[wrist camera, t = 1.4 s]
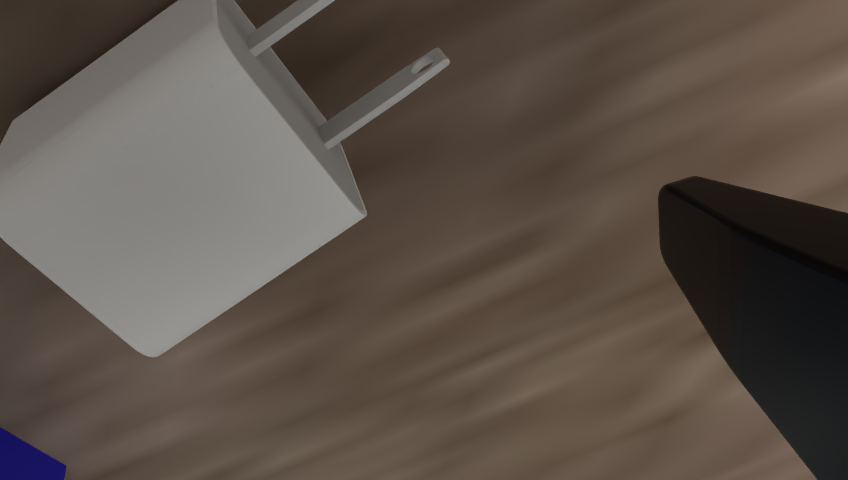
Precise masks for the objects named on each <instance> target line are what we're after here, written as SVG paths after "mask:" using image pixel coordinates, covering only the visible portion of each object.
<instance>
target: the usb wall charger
mask: <svg viewBox="0 0 848 480" xmlns="http://www.w3.org/2000/svg"><path fill="white" fill-rule="evenodd" d="M333 1H335V0H297V1H296V2H294V3H293V4H291V5H290V6H289V7H287V8H286V9H284V10H283V11H282V12H280V13H279V14H277V15H276V16H275V17H273V18H272V19H270V20H269V21H268V22H266V23H265V24H263V25H262V26H261V27H259V28H258V29H256V28H255V27H254V25H253V24H252V23H251V21H250V20H249V19H248V18H247V16H246V15H245V14H244V12H243V11H242V10H241V8H240V7H239V6H238V5H237V3H236V2H235V1H234V0H178V1H176V2H175V3H174V4H172V5H171V6H169V7H168V8H167V9H165V10H164V11H163V12H161V13H160V14H158V15H157V16H156V17H154V18H153V19H152V20H150V21H149V22H147V23H146V24H145V25H143V26H142V27H141V28H139V29H138V30H136V31H135V32H134V33H132V34H131V35H130V36H128V37H127V38H125V39H124V40H123V41H121V42H120V43H119V44H117V45H116V46H114V47H113V48H112V49H110V50H109V51H108V52H106V53H105V54H103V55H102V56H101V57H99V58H98V59H97V60H95V61H94V62H92V63H91V64H90V65H88V66H87V67H86V68H84V69H83V70H81V71H80V72H79V73H77V74H76V75H75V76H73V77H72V78H70V79H69V80H68V81H66V82H65V83H64V84H62V85H61V86H59V87H58V88H57V89H55V90H54V91H53V92H51V93H50V94H48V95H47V96H46V97H44V98H43V99H42V100H40V101H39V102H37V103H36V104H35V105H33V106H32V107H31V108H29V109H28V110H27V111H25V112H24V113H22V114H21V115H20V116H18V117H17V118H16V119H14V120H13V121H12V123H11V125H10V127H9V129H8V131H7V133H6V135H5V137H4V139H3V141H2V143H1V145H0V237H1V238H2V239H3V240H4V241H5V242H6V243H7V244H8V245H9V246H10V247H12V248H13V249H14V250H15V251H16V252H18V253H19V254H20V255H21V256H22V257H24V258H25V259H26V260H27V261H29V262H30V263H31V264H32V265H33V266H35V267H36V268H37V269H38V270H39V271H41V272H42V273H43V274H44V275H45V276H47V277H48V278H49V279H50V280H51V281H53V282H54V283H55V284H56V285H58V286H59V287H60V288H61V289H62V290H64V291H65V292H66V293H67V294H68V295H70V296H71V297H72V298H73V299H74V300H76V301H77V302H78V303H79V304H80V305H82V306H83V307H84V308H85V309H87V310H88V311H89V312H90V313H91V314H93V315H94V316H95V317H96V318H97V319H99V320H100V321H101V322H102V323H103V324H105V325H106V326H107V327H108V328H109V329H111V330H112V331H113V332H114V333H116V334H117V335H118V336H119V337H120V338H122V339H123V340H124V341H125V342H126V343H128V344H129V345H130V346H131V347H132V348H134V349H135V350H136V351H138V352H140V353H141V354H143V355H146V356H149V357H158V356H160V355H161V354H163V353H164V352H166V351H167V350H169V349H170V348H172V347H173V346H175V345H176V344H178V343H179V342H181V341H182V340H184V339H185V338H186V337H188V336H189V335H191V334H192V333H194V332H195V331H197V330H198V329H200V328H201V327H203V326H204V325H206V324H207V323H209V322H210V321H212V320H213V319H215V318H216V317H218V316H219V315H221V314H222V313H224V312H225V311H226V310H228V309H229V308H231V307H232V306H234V305H235V304H237V303H238V302H240V301H241V300H243V299H244V298H246V297H247V296H249V295H250V294H252V293H253V292H255V291H256V290H258V289H259V288H261V287H262V286H264V285H265V284H267V283H268V282H269V281H271V280H272V279H274V278H275V277H277V276H278V275H280V274H281V273H283V272H284V271H286V270H287V269H289V268H290V267H292V266H293V265H295V264H296V263H298V262H299V261H301V260H302V259H304V258H305V257H307V256H308V255H309V254H311V253H312V252H314V251H315V250H317V249H318V248H320V247H321V246H323V245H324V244H326V243H327V242H329V241H330V240H332V239H333V238H335V237H336V236H338V235H339V234H341V233H342V232H344V231H345V230H347V229H348V228H350V227H351V226H352V225H354V224H355V223H357V222H358V221H360V220H361V219H363V218H364V217H366V216H367V211H366V208H365V206H364V203H363V200H362V198H361V195H360V192H359V190H358V187H357V184H356V182H355V179H354V176H353V174H352V171H351V168H350V166H349V163H348V161H347V158H346V155H345V153H344V150H343V147H342V145H341V143H340V141H342V140H343V139H345V138H346V137H348V136H349V135H351V134H352V133H354V132H355V131H356V130H358V129H359V128H361V127H362V126H364V125H365V124H367V123H368V122H370V121H371V120H372V119H374V118H375V117H377V116H378V115H380V114H381V113H383V112H384V111H386V110H387V109H388V108H390V107H391V106H393V105H394V104H396V103H397V102H399V101H400V100H402V99H403V98H404V97H406V96H407V95H409V94H410V93H411V92H413V91H414V90H416V89H417V88H418V87H420V86H421V85H422V84H424V83H425V82H426V81H428V80H429V79H430V78H432V77H433V76H435V75H436V74H437V73H439V72H440V71H441V70H443V69H444V68H445V67H447V66H448V65H449V63H450V60H449V59H448V58H447V56H446V55H445V54H444V53H443V52H442V50H441V49H440V48H435V49H433V50H431V51H430V52H428V53H427V54H425V55H424V56H422V57H420V58H419V59H417V60H416V61H414V62H413V63H411V64H410V65H408V66H407V67H405V68H403V69H402V70H400V71H399V72H397V73H396V74H394V75H393V76H391V77H390V78H388V79H387V80H386V81H384V82H383V83H381V84H380V85H378V86H377V87H375V88H374V89H373V90H371V91H370V92H368V93H367V94H365V95H364V96H362V97H361V98H360V99H358V100H357V101H355V102H354V103H352V104H351V105H350V106H348V107H347V108H345V109H344V110H342V111H341V112H339V113H338V114H337V115H335V116H334V117H332V118H331V119H329V120H328V121H326V119H325V118H324V116H323V115H322V114H321V112H320V111H319V110H318V108H317V107H316V106H315V105H314V103H313V102H312V101H311V99H310V98H309V97H308V96H307V94H306V93H305V92H304V90H303V89H302V88H301V86H300V85H299V84H298V83H297V81H296V80H295V79H294V77H293V76H292V75H291V73H290V72H289V71H288V70H287V68H286V67H285V66H284V64H283V63H282V62H281V60H280V59H279V58H278V57H277V55H276V54H275V53H274V51H273V50H272V49H271V47H270V46H271V45H273V44H274V43H276V42H277V41H278V40H280V39H281V38H283V37H284V36H285V35H287V34H288V33H290V32H291V31H293V30H294V29H295V28H297V27H298V26H300V25H301V24H302V23H304V22H305V21H307V20H308V19H309V18H311V17H312V16H314V15H315V14H316V13H318V12H319V11H321V10H322V9H323V8H325V7H326V6H328V5H329V4H331V3H332V2H333ZM433 62H434V63H433ZM430 63H433V64H432V65H431V66H430V67H429V68H428V69H426V70H425V71H423V72H421V73H418V71H419V70H420V69H422V68H423V67H424V66H426V65H428V64H430ZM417 73H418V74H417Z"/></svg>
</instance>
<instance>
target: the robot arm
mask: <svg viewBox="0 0 848 480" xmlns="http://www.w3.org/2000/svg"><path fill="white" fill-rule="evenodd" d="M658 209H659V236H660V249H661V253H662V256H663V259H664V261H665V264H666V265H667V267H668V269H669V270H670V272H671V274H672V275H673V277H674V279H675V280H676V282H677V284H678V285H679V287H680V288H681V290H682V292H683V293H684V295H685V297H686V298H687V300H688V302H689V303H690V305H691V306H692V308H693V310H694V311H695V313H696V315H697V316H698V318H699V320H700V321H701V323H702V324H703V326H704V328H705V329H706V331H707V333H708V334H709V336H710V338H711V339H712V341H713V342H714V344H715V346H716V347H717V349H718V351H719V352H720V354H721V355H722V357H723V358H724V360H725V361H726V363H727V364H728V366H729V367H730V368H731V370H732V371H733V372H734V374H735V375H736V376H737V378H738V379H739V380H740V382H741V383H742V384H743V386H744V387H745V388H746V389H747V391H748V392H749V393H750V394H751V396H752V397H753V398H754V400H755V401H756V402H757V403H758V405H759V406H760V407H761V408H762V410H763V411H764V412H765V414H766V415H767V416H768V417H769V419H770V420H771V421H772V422H773V424H774V425H775V426H776V428H777V429H778V430H779V431H780V433H781V434H782V435H783V436H784V438H785V439H786V440H787V441H788V443H789V444H790V445H791V447H792V448H793V449H794V450H795V452H796V453H797V454H798V455H799V457H800V458H801V459H802V461H803V462H804V463H805V464H806V466H807V467H808V468H809V469H810V471H811V472H812V473H813V475H814V476H815V477H816V478H817V480H848V213H845V212H841V211H837V210H832V209H828V208H824V207H820V206H816V205H812V204H808V203H804V202H800V201H796V200H792V199H788V198H784V197H779V196H775V195H771V194H767V193H763V192H759V191H755V190H751V189H747V188H743V187H739V186H735V185H731V184H727V183H723V182H718V181H714V180H710V179H706V178H702V177H698V176H692V177H688V178H685V179H681V180H678V181H675V182H672V183H669V184H666V185H664V186H663V187H662V188H661V190H660V192H659V196H658Z"/></svg>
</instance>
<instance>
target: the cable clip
mask: <svg viewBox="0 0 848 480" xmlns="http://www.w3.org/2000/svg"><path fill="white" fill-rule="evenodd" d="M65 470H66V466H65V465H64V464H62V463H60V462H59V461H57V460H55V459H53V458H52V457H50V456H48V455H47V454H45V453H43V452H41V451H40V450H38V449H36V448H34V447H33V446H31V445H29V444H28V443H26V442H24V441H22V440H21V439H19V438H17V437H16V436H14V435H12V434H10V433H9V432H7V431H5V430H4V429H2V428H0V480H64V475H65Z"/></svg>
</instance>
